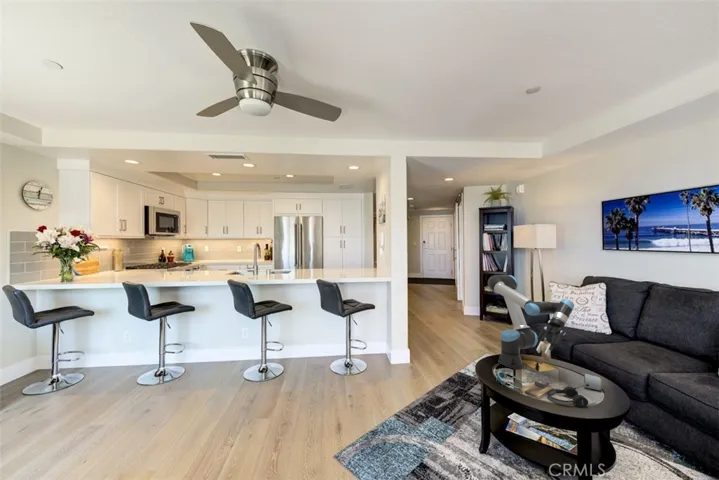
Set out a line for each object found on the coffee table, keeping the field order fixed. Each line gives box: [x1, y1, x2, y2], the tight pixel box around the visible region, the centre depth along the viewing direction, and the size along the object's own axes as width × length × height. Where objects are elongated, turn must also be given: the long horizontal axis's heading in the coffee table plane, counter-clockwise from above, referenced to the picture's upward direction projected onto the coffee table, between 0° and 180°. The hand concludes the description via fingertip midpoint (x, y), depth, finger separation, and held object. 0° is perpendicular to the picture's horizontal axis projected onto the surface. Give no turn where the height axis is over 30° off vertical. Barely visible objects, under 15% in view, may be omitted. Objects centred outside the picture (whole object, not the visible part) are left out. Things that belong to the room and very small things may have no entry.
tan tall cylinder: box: [541, 338, 551, 362], centre depth 177 cm, size 4×4×12 cm
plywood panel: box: [519, 381, 555, 400], centre depth 170 cm, size 10×18×2 cm, turn 125°
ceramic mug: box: [583, 373, 603, 391], centre depth 175 cm, size 11×8×8 cm
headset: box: [547, 384, 589, 408], centre depth 160 cm, size 14×10×20 cm
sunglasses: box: [496, 371, 524, 390], centre depth 180 cm, size 14×15×5 cm
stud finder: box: [534, 378, 550, 389], centre depth 174 cm, size 5×6×3 cm
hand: (542, 352), depth 175 cm, fingers closed on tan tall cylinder, 4 cm apart
